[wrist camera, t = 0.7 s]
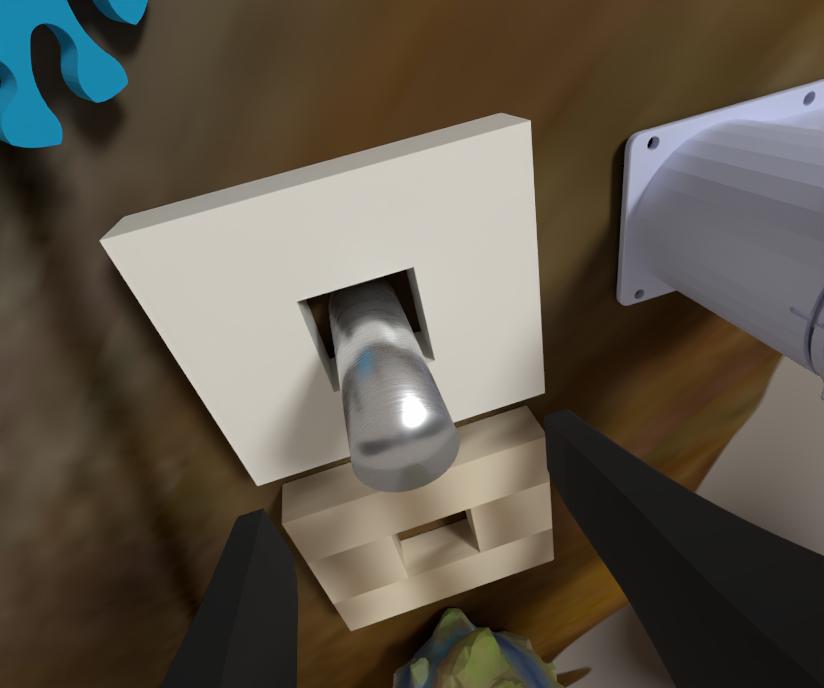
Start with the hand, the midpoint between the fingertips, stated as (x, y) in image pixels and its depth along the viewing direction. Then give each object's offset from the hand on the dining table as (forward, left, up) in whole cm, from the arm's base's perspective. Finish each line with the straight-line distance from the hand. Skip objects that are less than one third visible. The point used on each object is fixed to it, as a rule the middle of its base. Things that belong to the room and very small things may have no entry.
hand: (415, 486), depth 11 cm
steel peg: (0, 0, -10) cm, 10 cm away
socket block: (0, 0, -10) cm, 10 cm away
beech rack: (0, +15, -10) cm, 18 cm away
